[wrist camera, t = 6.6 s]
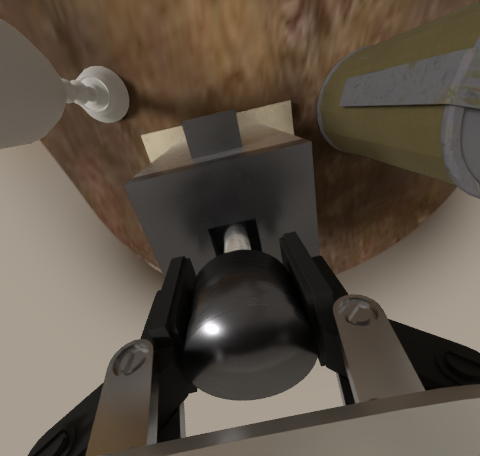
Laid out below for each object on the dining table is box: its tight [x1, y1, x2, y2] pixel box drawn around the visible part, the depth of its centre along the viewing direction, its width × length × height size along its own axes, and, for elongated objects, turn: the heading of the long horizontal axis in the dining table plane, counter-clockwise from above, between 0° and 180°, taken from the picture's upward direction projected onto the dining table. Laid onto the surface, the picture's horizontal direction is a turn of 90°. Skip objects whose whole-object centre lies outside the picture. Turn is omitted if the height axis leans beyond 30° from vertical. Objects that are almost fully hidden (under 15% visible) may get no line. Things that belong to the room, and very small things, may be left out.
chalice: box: [0, 18, 129, 149], centre depth 16 cm, size 7×7×18 cm
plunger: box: [183, 221, 318, 400], centre depth 17 cm, size 6×6×22 cm
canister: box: [317, 1, 480, 199], centre depth 18 cm, size 11×10×20 cm
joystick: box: [124, 100, 320, 277], centre depth 21 cm, size 16×12×17 cm
